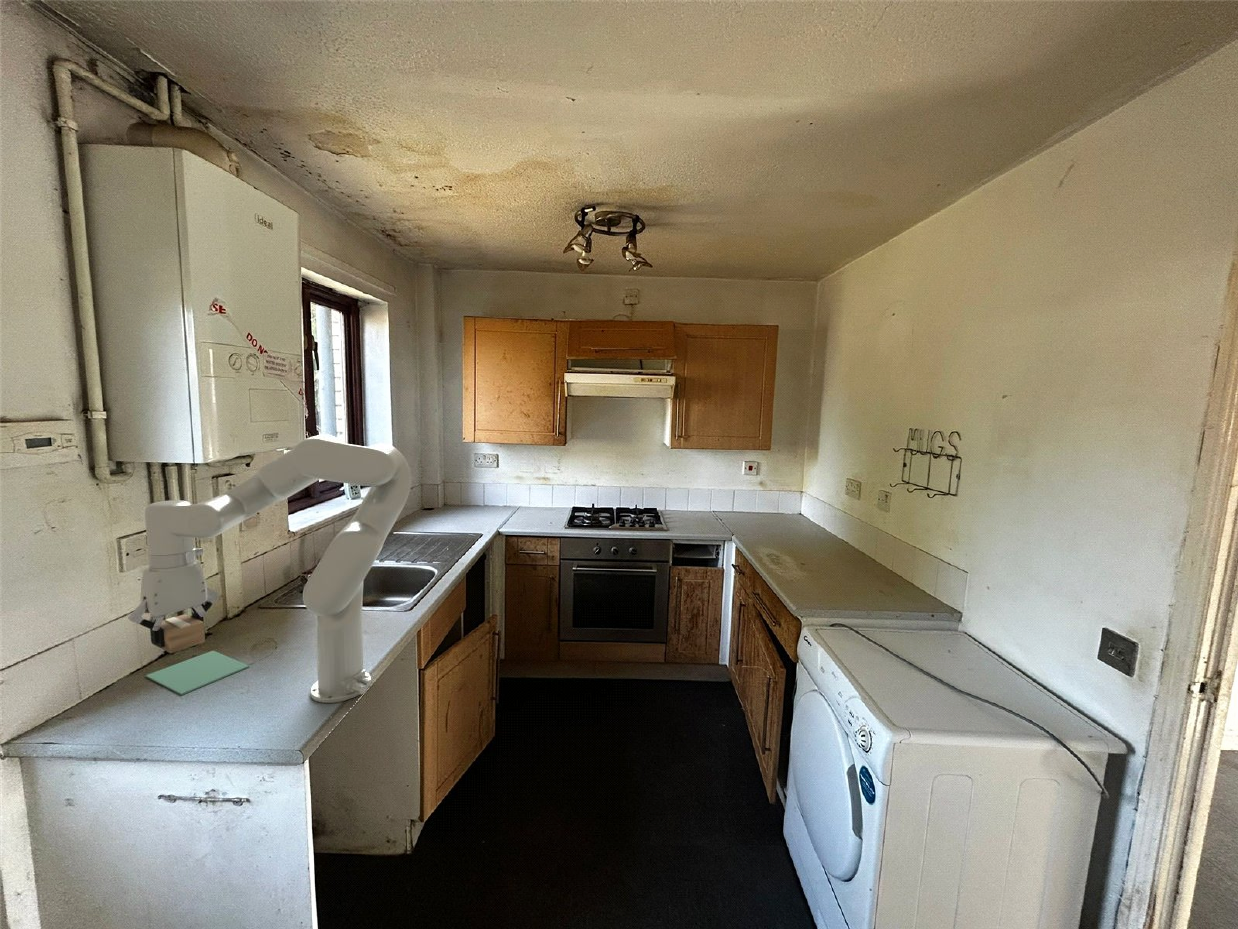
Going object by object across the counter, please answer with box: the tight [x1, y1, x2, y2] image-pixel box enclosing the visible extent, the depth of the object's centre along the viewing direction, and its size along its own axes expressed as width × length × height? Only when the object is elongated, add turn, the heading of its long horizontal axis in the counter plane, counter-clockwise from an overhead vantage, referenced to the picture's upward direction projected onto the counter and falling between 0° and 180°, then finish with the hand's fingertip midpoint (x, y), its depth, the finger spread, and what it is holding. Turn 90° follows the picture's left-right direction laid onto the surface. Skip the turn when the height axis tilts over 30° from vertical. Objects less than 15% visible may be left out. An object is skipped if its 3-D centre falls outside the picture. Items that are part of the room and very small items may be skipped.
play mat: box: [145, 650, 250, 696], centre depth 123 cm, size 16×14×1 cm
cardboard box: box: [154, 613, 206, 654], centre depth 108 cm, size 8×6×5 cm
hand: (178, 638), depth 108 cm, fingers closed on cardboard box, 5 cm apart
